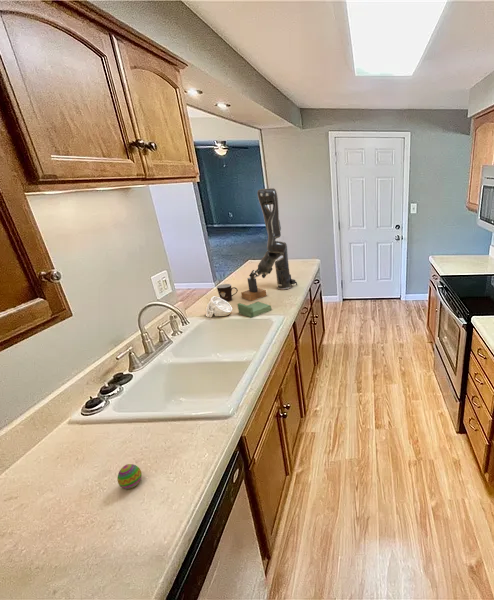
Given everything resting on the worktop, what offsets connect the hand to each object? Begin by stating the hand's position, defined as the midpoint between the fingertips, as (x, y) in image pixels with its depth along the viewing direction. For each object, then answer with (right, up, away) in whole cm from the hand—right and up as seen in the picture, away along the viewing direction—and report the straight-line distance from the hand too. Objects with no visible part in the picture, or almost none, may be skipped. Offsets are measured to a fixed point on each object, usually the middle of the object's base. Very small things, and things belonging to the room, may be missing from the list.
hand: (257, 278), depth 213 cm
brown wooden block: (-5, -12, +8) cm, 15 cm away
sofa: (+5, -21, -16) cm, 27 cm away
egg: (+16, -62, -127) cm, 142 cm away
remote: (-5, -8, +7) cm, 12 cm away
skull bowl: (-14, -23, -21) cm, 34 cm away
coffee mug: (-19, -14, +1) cm, 24 cm away
